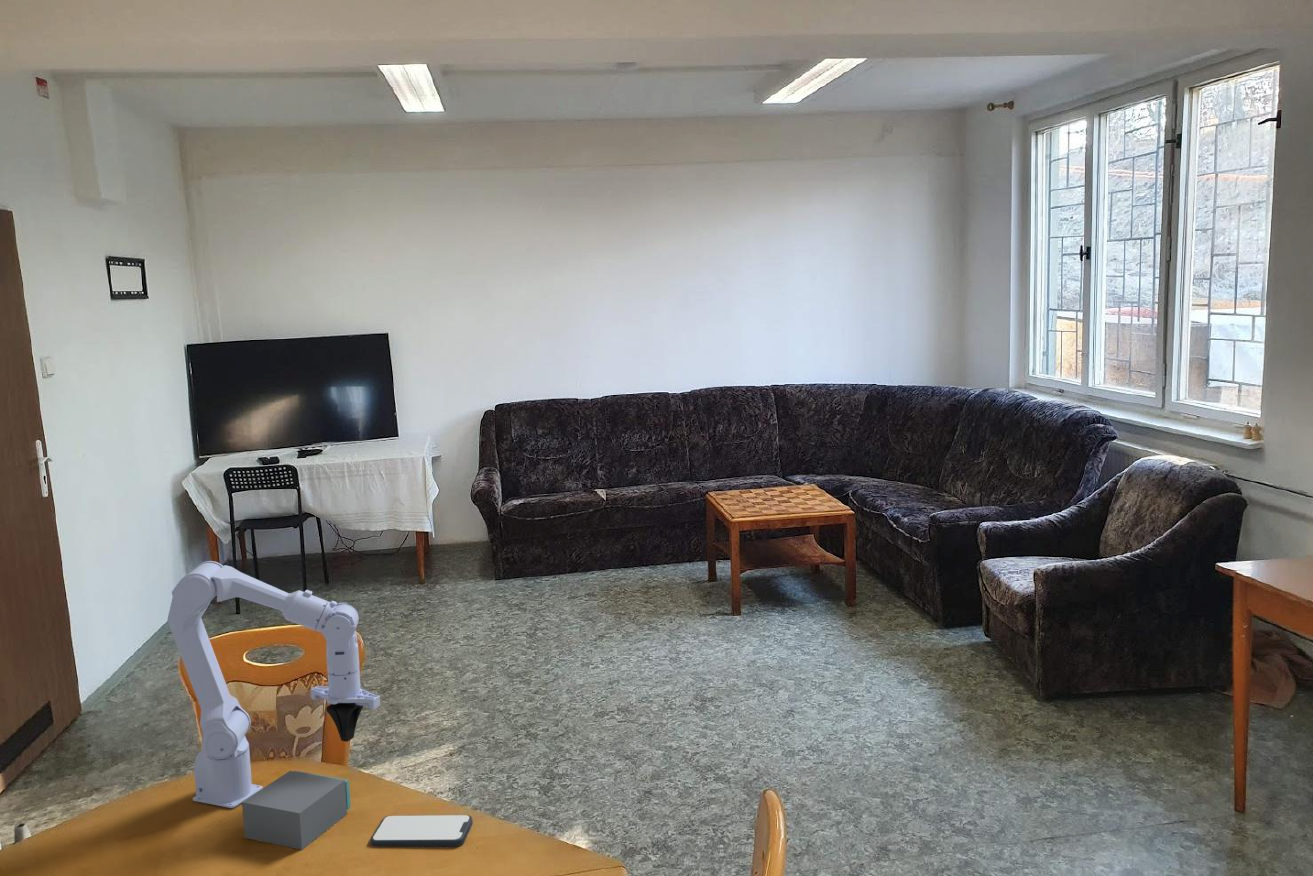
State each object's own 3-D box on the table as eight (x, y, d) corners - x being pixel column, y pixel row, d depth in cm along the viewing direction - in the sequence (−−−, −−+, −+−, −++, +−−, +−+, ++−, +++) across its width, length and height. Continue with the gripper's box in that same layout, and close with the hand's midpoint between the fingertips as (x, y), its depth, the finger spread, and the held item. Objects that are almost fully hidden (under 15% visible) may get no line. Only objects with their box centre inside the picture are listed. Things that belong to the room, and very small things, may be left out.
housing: (292, 804, 177) (289, 770, 176) (347, 814, 173) (344, 780, 173) (244, 837, 166) (241, 802, 165) (302, 849, 162) (299, 813, 161)
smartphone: (368, 850, 163) (462, 850, 162) (367, 841, 163) (461, 841, 162) (385, 823, 172) (474, 822, 171) (384, 814, 171) (473, 813, 171)
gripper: (297, 672, 180) (302, 742, 181) (361, 682, 174) (365, 754, 176) (323, 660, 186) (327, 727, 188) (385, 669, 181) (389, 738, 183)
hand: (347, 739), depth 183 cm, fingers closed
